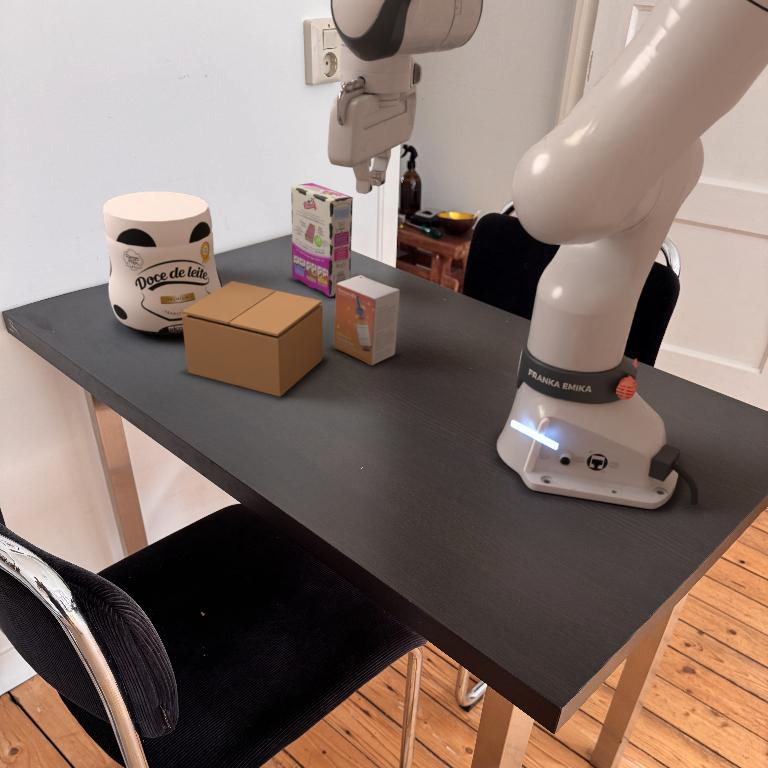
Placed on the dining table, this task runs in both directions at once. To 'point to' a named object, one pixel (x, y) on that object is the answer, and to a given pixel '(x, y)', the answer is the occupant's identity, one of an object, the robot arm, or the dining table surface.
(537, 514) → the dining table surface
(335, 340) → the small box
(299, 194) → the candy bar box
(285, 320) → the flap
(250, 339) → the carton
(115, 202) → the doce de leite jar
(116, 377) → the dining table surface
